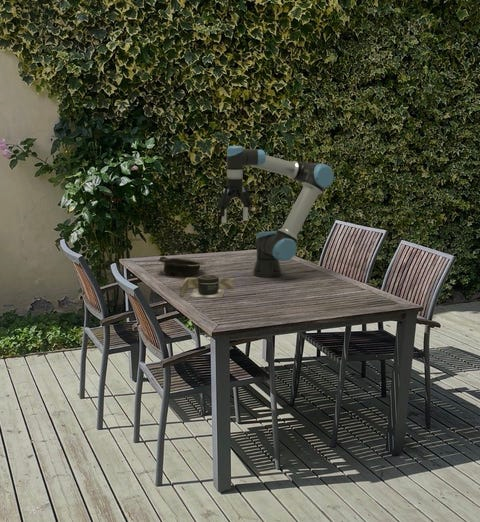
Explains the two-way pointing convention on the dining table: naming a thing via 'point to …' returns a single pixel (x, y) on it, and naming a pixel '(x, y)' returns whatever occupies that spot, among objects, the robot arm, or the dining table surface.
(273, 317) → the dining table surface
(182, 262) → the stone bowl
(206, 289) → the jar
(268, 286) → the dining table surface
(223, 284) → the arena
